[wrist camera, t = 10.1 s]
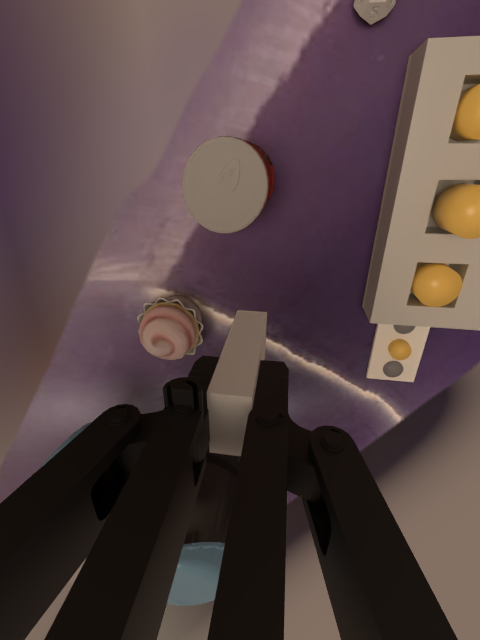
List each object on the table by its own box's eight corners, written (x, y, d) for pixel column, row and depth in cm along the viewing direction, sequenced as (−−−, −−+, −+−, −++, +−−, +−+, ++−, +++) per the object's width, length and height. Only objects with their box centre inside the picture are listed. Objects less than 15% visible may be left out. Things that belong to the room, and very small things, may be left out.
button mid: (473, 230, 32) (495, 239, 29) (427, 229, 33) (442, 238, 29) (489, 183, 30) (514, 186, 27) (438, 182, 31) (457, 185, 27)
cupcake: (220, 297, 45) (201, 331, 36) (202, 349, 49) (182, 391, 40) (157, 274, 45) (123, 302, 36) (145, 328, 49) (112, 365, 40)
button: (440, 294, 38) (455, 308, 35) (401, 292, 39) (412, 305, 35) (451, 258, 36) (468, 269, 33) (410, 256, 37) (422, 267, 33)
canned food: (281, 147, 35) (276, 143, 26) (267, 221, 39) (258, 241, 29) (214, 136, 36) (184, 128, 26) (207, 209, 40) (178, 226, 30)
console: (460, 311, 40) (481, 330, 36) (362, 305, 42) (370, 322, 38) (550, 49, 29) (597, 30, 24) (409, 55, 30) (428, 38, 26)
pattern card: (412, 379, 46) (416, 387, 44) (365, 375, 47) (368, 383, 45) (432, 309, 41) (438, 316, 39) (380, 306, 42) (383, 312, 40)
